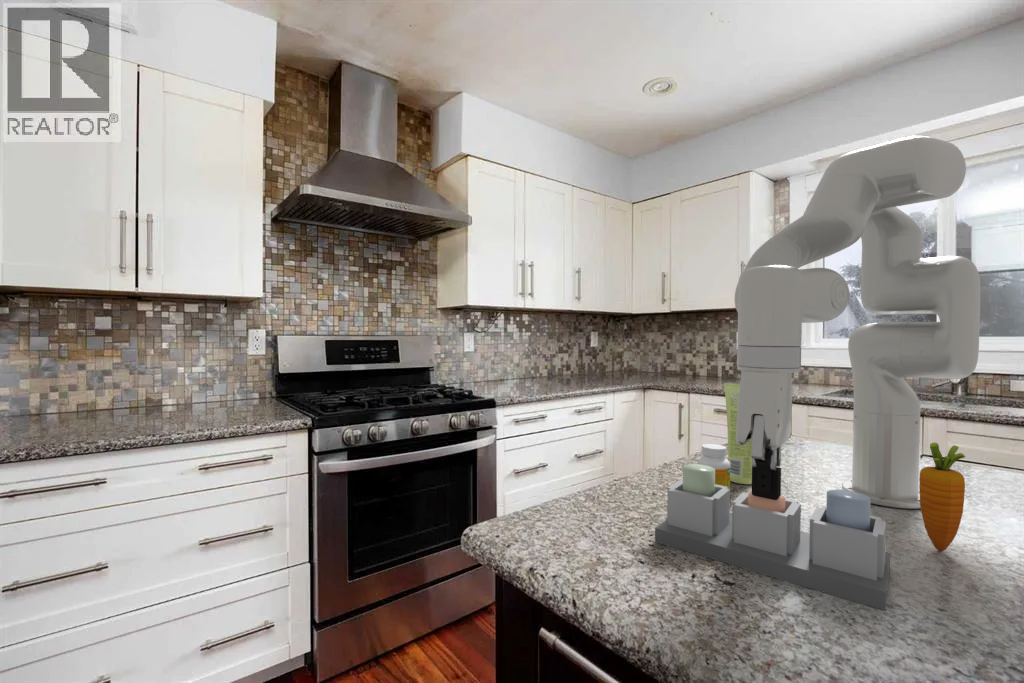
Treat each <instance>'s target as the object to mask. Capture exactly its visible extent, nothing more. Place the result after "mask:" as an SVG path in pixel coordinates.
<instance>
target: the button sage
mask: <svg viewBox="0 0 1024 683" xmlns="http://www.w3.org/2000/svg"><path fill="white" fill-rule="evenodd" d="M682 480H683V491H685V492H689V493H694V494H698V495H703V496H707V497H712V496H713V495H715V469H714V468H712V467H710V466H706V465H700V464H697V463H689V464H685V465H684V464H683V466H682Z"/></svg>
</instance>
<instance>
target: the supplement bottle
mask: <svg viewBox="0 0 1024 683" xmlns="http://www.w3.org/2000/svg"><path fill="white" fill-rule="evenodd" d="M701 454H702V456H699V458H698V459H697V463H696V464H700V465H706V466H710V467H712V468H714V469H715V484H716V485H721V486H726V487H728V489H730V490H731V481H730V462H729V461H728V458H726V456H727V447H726V446H724V445H720V444H715V443H704V444H702V445H701Z"/></svg>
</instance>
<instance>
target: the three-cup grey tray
mask: <svg viewBox="0 0 1024 683" xmlns="http://www.w3.org/2000/svg"><path fill="white" fill-rule="evenodd" d="M751 491H752V490H751ZM751 491H750V490H748V491H747V492H745V491H743V492H741V493H740V494H739V495H738V496H737V497H736V498H735V499H734V500H733V501H732V506H731V507H732V510H731V511H730V508H731V507H730V505H731V504H730V503H731V488H730V489H728V487H726V486H721V485H716V484H715V495H713V496H712V497H707V496H703V495H698V494H694V493H689V492H685V491H683V479H679V480H678V481H676V482H675V483H673V484H671V485H669V486H668V487H667V504H666V505H667V510H666V512H667V514H666V517H667V518H666V519H665V520H664V521H663V522H661V523H660V524H658V525H657V526H656V527H655V528H654V542H655V543H658V544H660V545H661V544H662V545H665V546H667V547H670V548H674V549H678V550H681V551H684V552H686V553H687V552H688V553H691V554H694V555H698V556H701V557H705V558H707V559H711V560H714V561H717V562H721V563H725V564H728V565H732V566H734V567H738V568H742V569H744V570H748V571H752V572H755V573H758V574H761V575H765V576H768V577H771V578H775V579H779V580H781V581H785V582H788V583H791V584H795V585H797V586H802V587H805V588H809V589H812V590H815V591H817V592H822V593H825V594H829V595H832V596H835V597H839V598H843V599H845V600H848V601H853V602H856V603H859V604H862V605H866V606H869V607H873V608H876V609H879V610H883V611H886V609H887V600H888V591H889V581H890V574H891V553H892V552H888V551H886V546H887V545H886V544H887V543H886V541H887V540H886V536H887V533H886V531H887V520H882V517H880V516H876V515H875V516H874V515H870V532H867V531H863V530H858V529H854V528H849V527H845V526H840V525H835V524H831V523H826V506H825V505H822V506H821V507H818V506H816V507H815V509H814V510H813V513H812V514H811V516H810V518H809V533H807V532H804V531H801V523H802V522H801V520H802V519H801V518H802V517H801V516H802V503H799V501H798V500H795V499H790V498H786V497H785V513H781V512H776V511H771V510H767V509H762V508H758V507H753V506H749V505H748V493H749V492H751ZM730 512H731V515H730Z"/></svg>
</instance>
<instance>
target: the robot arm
mask: <svg viewBox="0 0 1024 683" xmlns="http://www.w3.org/2000/svg"><path fill="white" fill-rule="evenodd" d="M966 165H967V163H966V159H965V157H964V154H963V152H962V151H961V150H960V148H959V147H958V146H957V145H955V144H954V143H952V142H949V141H946V140H942V139H939V138H935V137H931V136H924V135H912V136H911V135H910V136H907V137H901V138H897V139H894V140H891V141H890V140H889V141H886V142H883V143H878V144H875V145H871V146H868V147H863V148H860V149H857V150H853V151H850V152H847V153H845V154H842V155H840V156H839V157H837V158H836V159H833V161H831V163H829V165H828V166H827V168H826V169H825V171H824V173H823V174H822V177H821V178H820V181H819V183H818V185H817V186H816V188H815V191H814V193H813V194H812V197H811V198H810V200H809V202H808V204H807V207H806V208H805V211H804V213H803V215H801V216H800V217H799V218H797V219H796V220H794V221H793V222H791V223H790V224H788V225H787V226H785V227H784V228H782V229H781V230H780V231H778V232H777V233H776V234H775V235H773V236H772V237H770V238H769V239H768V240H767V241H765V242H764V243H763V244H761V245H760V246H759V247H758V248H757V249H756V251H754V253H753V254H752V255H751V257H750V258H749V260H748V262H747V264H746V265H745V267H744V269H743V270H742V272H741V274H739V275H740V276H739V278H738V281H737V285H736V287H735V291H734V306H735V310H736V312H737V351H736V353H737V354H736V355H737V356H736V358H737V359H736V360H737V362H736V366H737V367H736V370H737V371H741V374H740V375H741V376H740V381H739V384H740V387H739V397H738V411H737V427H736V441H737V443H738V444H739V445H744V444H746V443H747V442H749V441H751V440H752V455H751V456H752V484H751V491H752V495H753V496H758V497H763V498H768V499H772V500H777V499H778V498H779V497H780V496H781V495H782V494H781V492H782V490H781V489H782V467H781V464H782V463H781V462H782V446H783V445H784V444H785V443H786V442H787V441H788V440H789V439H790V437H791V435H792V434H791V432H792V418H793V387H792V386H793V383H792V380H793V379H792V376H793V374H796V373H801V372H802V334H803V333H802V332H803V331H802V330H803V329H802V328H803V323H804V324H808V323H809V324H812V323H813V324H814V323H824V322H829V321H831V320H834V319H836V318H838V317H839V316H840V315H841V314H843V313H844V311H845V310H846V308H847V306H848V304H849V300H850V288H849V285H848V282H847V280H846V279H845V277H843V275H841V274H840V273H839V272H837V271H836V270H833V269H830V268H828V267H827V268H826V267H811V268H804V269H803V268H802V267H804V266H807V265H809V264H812V263H814V262H817V261H819V260H822V259H824V258H827V257H830V256H832V255H834V254H837V253H839V252H841V251H843V250H845V249H847V248H849V247H851V246H852V245H854V244H856V242H858V241H859V239H860V238H861V267H860V268H861V269H860V270H861V271H860V299H861V304H862V306H863V308H864V309H865V310H866V311H867V312H870V313H872V314H877V315H935V316H938V318H939V321H881V322H880V321H879V322H872V323H865V324H863V325H860V326H859V327H857V328H855V329H854V330H853V331H852V332H851V334H850V336H849V338H848V343H847V345H848V347H847V348H848V356H849V360H850V365H851V371H852V373H851V374H852V384H853V414H852V415H853V419H852V420H853V423H852V424H853V426H852V463H851V464H852V469H851V470H852V471H851V472H852V475H851V480H850V479H849V480H845V481H844V482H842V483H841V490H846V491H852V492H856V493H860V494H863V495H866V496H868V497H869V498H870V499H871V504H873V505H877V506H878V505H879V506H883V507H888V508H894V509H895V508H897V509H906V510H907V509H909V510H910V509H912V510H913V509H915V510H916V509H921V507H920V488H919V477H920V448H921V447H920V441H921V437H920V435H921V403H920V399H919V397H918V395H917V393H916V392H915V390H913V388H912V387H911V385H909V384H908V382H907V381H906V380H905V379H904V378H923V379H924V378H925V379H936V380H937V379H939V380H941V379H943V380H960V379H965V378H967V377H969V376H971V375H973V373H974V372H975V370H976V368H977V365H978V360H979V352H980V351H979V350H980V328H981V327H980V322H981V319H980V318H981V293H982V292H981V278H980V273H979V269H978V268H977V265H976V264H975V263H974V262H973V261H972V260H971V259H969V258H967V257H964V256H960V255H958V256H957V255H946V256H935V257H925V258H923V253H922V252H923V250H922V249H923V247H922V245H923V231H922V229H921V227H920V226H919V224H917V222H916V221H915V220H914V219H912V218H911V217H910V216H909V215H908V214H907V213H905V212H904V211H903V210H901V209H900V208H898V207H901V206H908V205H914V204H919V203H923V202H924V203H926V202H931V201H932V202H933V201H937V200H942V199H947V198H948V197H951V196H953V195H954V194H956V192H958V191H959V189H961V186H962V185H963V183H964V181H965V177H966V172H967V166H966ZM799 268H800V269H799Z"/></svg>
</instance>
